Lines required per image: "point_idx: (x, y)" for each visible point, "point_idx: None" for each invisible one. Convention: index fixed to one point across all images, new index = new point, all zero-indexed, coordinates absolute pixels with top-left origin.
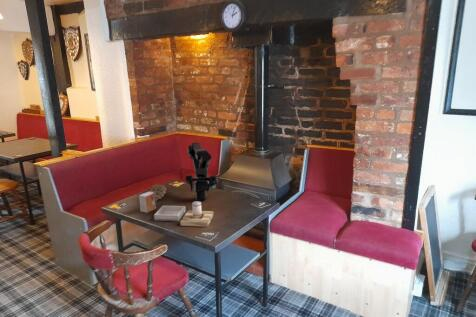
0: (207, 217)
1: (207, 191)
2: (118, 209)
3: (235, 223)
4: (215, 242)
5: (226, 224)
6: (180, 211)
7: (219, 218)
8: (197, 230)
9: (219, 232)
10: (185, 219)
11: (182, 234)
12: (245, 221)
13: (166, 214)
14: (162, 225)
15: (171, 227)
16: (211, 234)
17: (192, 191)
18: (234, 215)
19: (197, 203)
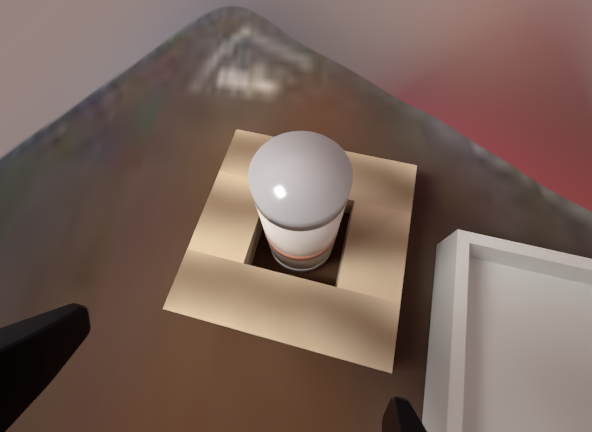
0: (226, 198)
1: (65, 312)
2: None
3: (73, 164)
4: (224, 16)
5: (128, 159)
6: (460, 318)
7: (146, 250)
8: (300, 115)
9: (190, 84)
10: (386, 189)
11: (377, 87)
12: (4, 181)
13: (583, 370)
14: (530, 200)
15: (460, 166)
16: (232, 72)
17: (390, 420)
18: (24, 285)
19: (289, 157)
